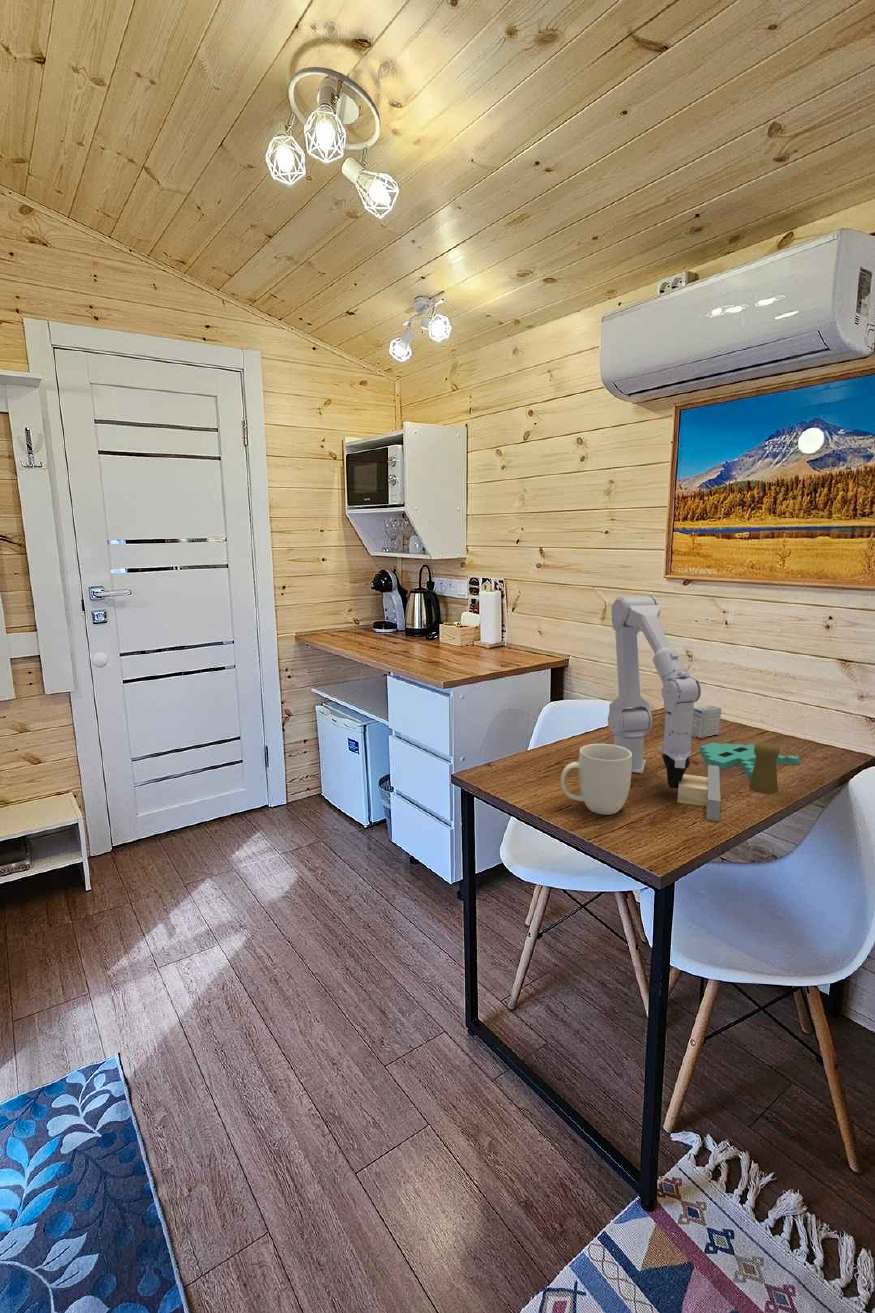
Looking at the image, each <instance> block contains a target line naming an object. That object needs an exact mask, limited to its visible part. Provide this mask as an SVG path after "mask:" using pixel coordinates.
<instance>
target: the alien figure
mask: <svg viewBox="0 0 875 1313" xmlns="http://www.w3.org/2000/svg"><path fill="white" fill-rule="evenodd" d="M755 745H756V744H751V743H750V744H747V745H745V744H741V743H736V744H731V743H727V742H725V743H722V744H721V743H719V742H711V743H707V744H704V745H701V746H699V751H698V752H699V754H701V753H702V754H701V757H702V758H703V761H704V760H705V761H704V762H706V765H707V766H708V765H713V766H719V770H722V771H723V770H725V769H729V768H731V767H730V766H732V767H734V766H737V765H738V764H740V765H739V766H740V769H741V770H743V769H744V771H743V774H745V773H746V774H745V775H747V778H748V779H750V780H751V776H752V772H753V768H754V764H755V759H756V755H755V753H754V748H755ZM800 760H801V758H800V757H799V756H797V755H791V754H790V755H788V756H784V755H782V754H779V756H778V757H777V758H776V763H779V764H778V765H780V764H783V763H785V762H788V763H791V764H794V765H795V764H798V763H799V764H800ZM736 764H737V765H736ZM799 764H798V765H799ZM783 765H784V764H783ZM794 765H793V766H794ZM728 767H729V768H728Z"/></svg>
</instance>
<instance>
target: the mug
mask: <svg viewBox="0 0 875 1313" xmlns="http://www.w3.org/2000/svg"><path fill="white" fill-rule="evenodd" d="M578 754H579V757H578V761H573V762H570V763H568V764H567V765H566V766H565V767H564V768H563V769H562V772H561V776H560V787H561V790H562V791H563V793H564V794H565V796H566V797H568V798H569V799H571V800H574V801H579V802H583V803H584V804H585V806H586V807H587V809H588V810H589V811H590V812H592V813H595V814H598V815H605V816H609V815H613V814H614V815H615V814H616V813H619V811H620V810H621V809H622V808H623V806H624V805H625V803H626V801H627V798H628V795H629V793H630V787H631V780H632V779H631V778H632V772H631V771H632V770H631V768H632V753H631V752H630V751H629V750H628V749H626V748H624V747H621V746H617V745H614V744H611V743H591V744H586V745H583V746H581V747H580V748H579V753H578ZM572 769H578V783H579V784H578V786H579V789H580V794H579V795H578V794H577V795H576V794H574V793H571V792H570V791H569V790H568V788H567V786H566V777H567V774H568V772H569V771H570V770H572Z"/></svg>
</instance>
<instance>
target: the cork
mask: <svg viewBox="0 0 875 1313" xmlns="http://www.w3.org/2000/svg"><path fill="white" fill-rule="evenodd" d="M754 745H755V748H754V753H755V755H756V759H755V764H754V768H753V772H752V776H751V779H750V781H749V784H748V785H749V786H748V788H749V789H750V790H752V791H754V792H756V793H760V792H761V793H760V794H767V793H768V794H769V795H770V793H773V794H776V793H778V792H779V789H778V788H779V786H778V772H777V768H778V767H777V764H776V758H777V757H778V756H779V755H780V748H779V747H778V745H777V744H775V743H771V742H765V741H763V742H758V743H756V744H754Z"/></svg>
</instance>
